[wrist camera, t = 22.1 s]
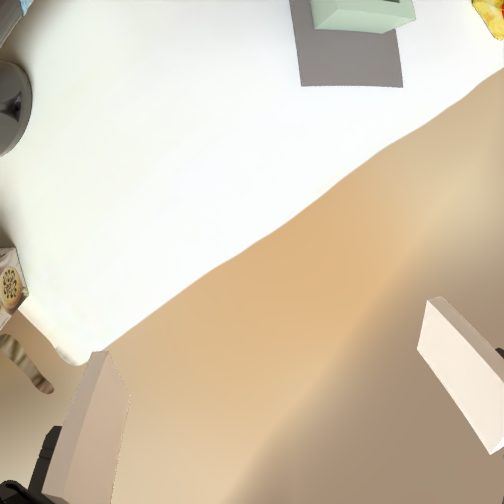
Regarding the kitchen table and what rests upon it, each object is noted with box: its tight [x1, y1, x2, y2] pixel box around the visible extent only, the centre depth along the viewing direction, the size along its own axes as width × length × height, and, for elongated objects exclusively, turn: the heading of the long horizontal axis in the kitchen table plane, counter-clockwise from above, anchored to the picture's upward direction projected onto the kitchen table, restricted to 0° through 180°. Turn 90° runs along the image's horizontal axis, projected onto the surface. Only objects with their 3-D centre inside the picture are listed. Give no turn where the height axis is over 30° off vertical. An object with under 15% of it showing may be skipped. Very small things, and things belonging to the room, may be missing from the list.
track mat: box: [289, 0, 403, 88], centre depth 34 cm, size 18×15×1 cm
